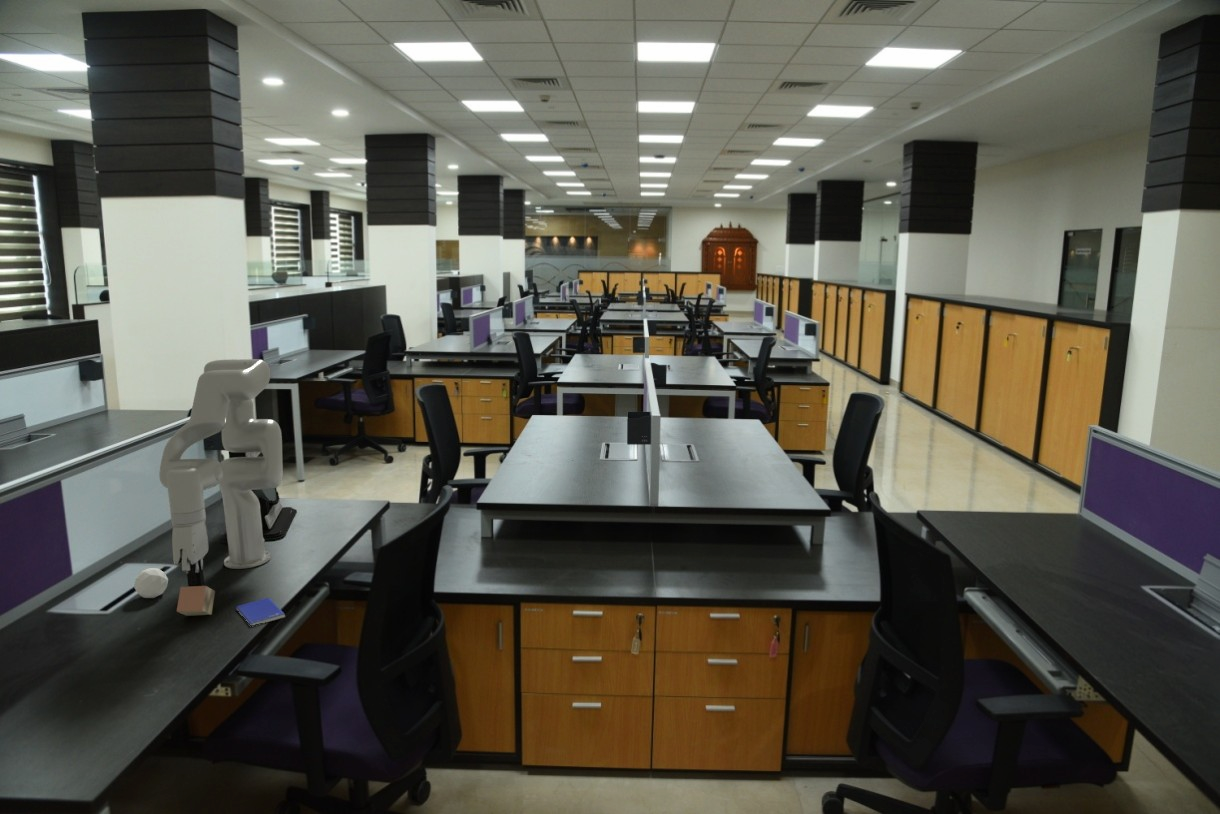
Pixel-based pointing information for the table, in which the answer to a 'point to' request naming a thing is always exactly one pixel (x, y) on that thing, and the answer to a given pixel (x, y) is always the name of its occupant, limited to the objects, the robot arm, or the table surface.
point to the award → (269, 509)
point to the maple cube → (195, 600)
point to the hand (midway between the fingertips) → (196, 586)
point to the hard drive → (260, 611)
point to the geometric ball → (151, 583)
